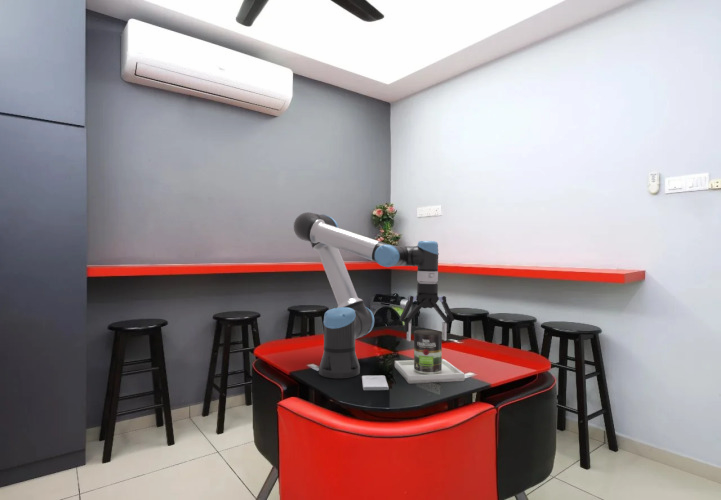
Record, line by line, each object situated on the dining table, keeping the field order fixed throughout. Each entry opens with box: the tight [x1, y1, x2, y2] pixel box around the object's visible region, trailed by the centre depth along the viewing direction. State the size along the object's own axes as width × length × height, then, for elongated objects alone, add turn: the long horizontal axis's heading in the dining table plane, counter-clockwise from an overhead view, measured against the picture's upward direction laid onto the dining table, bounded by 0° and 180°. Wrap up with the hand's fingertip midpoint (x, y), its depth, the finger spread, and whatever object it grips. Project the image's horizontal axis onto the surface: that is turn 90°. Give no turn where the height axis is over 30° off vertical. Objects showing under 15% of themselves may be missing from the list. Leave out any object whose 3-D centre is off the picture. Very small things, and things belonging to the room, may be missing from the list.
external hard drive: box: [361, 375, 390, 391], centre depth 133 cm, size 2×8×12 cm
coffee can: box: [413, 329, 443, 374], centre depth 145 cm, size 10×10×14 cm
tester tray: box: [394, 358, 466, 384], centre depth 145 cm, size 20×20×2 cm
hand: (426, 340), depth 145 cm, fingers open, 13 cm apart
